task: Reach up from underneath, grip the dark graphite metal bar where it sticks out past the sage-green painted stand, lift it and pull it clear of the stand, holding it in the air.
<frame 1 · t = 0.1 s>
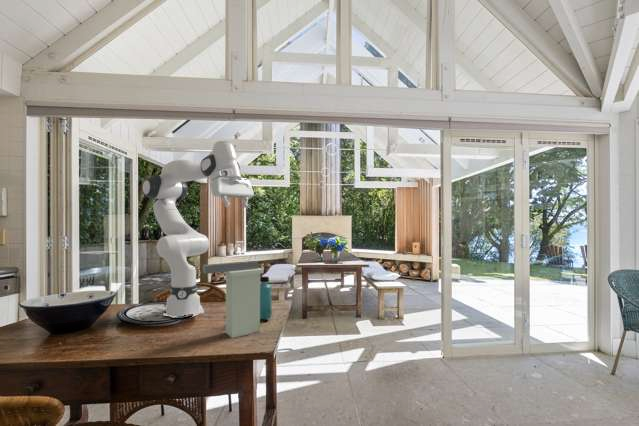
hand: (237, 206, 136), 52 cm above the table, tool tilted 20°, fingers open, 8 cm apart
sage stand: (242, 332, 134), on the table
graphite bar: (231, 270, 131), point 26 cm above the table, touching sage stand
beverage bottle: (264, 320, 150), on the table
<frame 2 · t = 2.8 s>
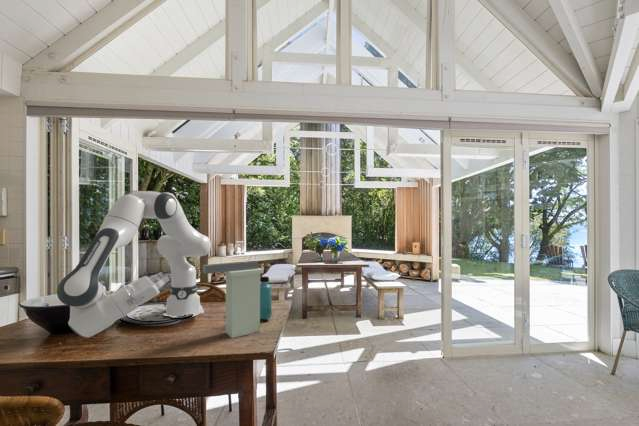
hand: (165, 275, 117), 26 cm above the table, tool pointing upward, fingers open, 8 cm apart
nothing on the table moved.
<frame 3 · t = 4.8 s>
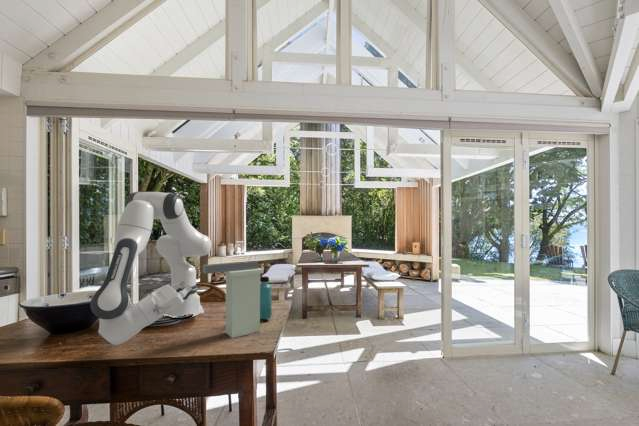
hand: (187, 284, 122), 22 cm above the table, tool pointing upward, fingers open, 8 cm apart
nothing on the table moved.
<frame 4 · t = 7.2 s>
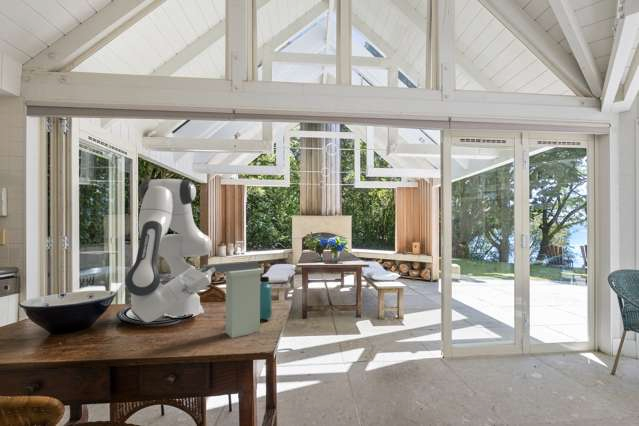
hand: (212, 267, 127), 28 cm above the table, tool pointing upward, fingers closed on graphite bar, 3 cm apart
graphite bar: (231, 270, 131), point 26 cm above the table, touching gripper, sage stand
everything else where it was.
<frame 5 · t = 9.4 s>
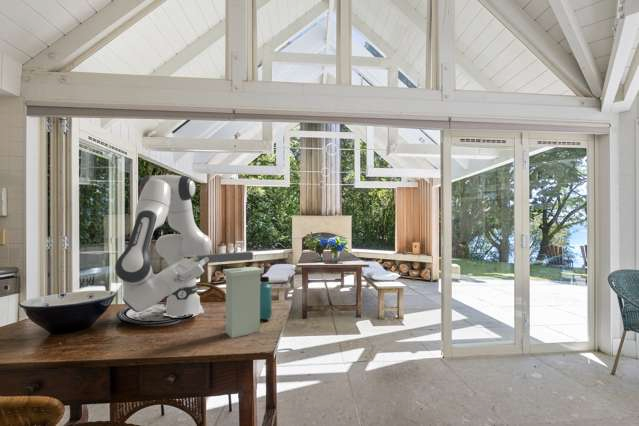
hand: (206, 257, 125), 32 cm above the table, tool pointing upward, fingers closed on graphite bar, 3 cm apart
graphite bar: (225, 261, 130), point 30 cm above the table, touching gripper
everything else where it was.
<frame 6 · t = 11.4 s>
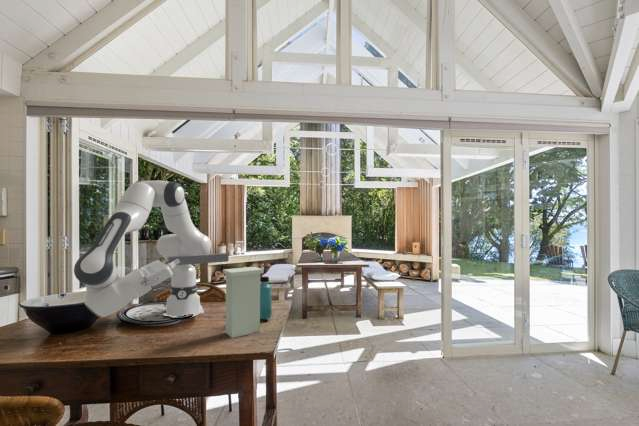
hand: (177, 259, 119), 32 cm above the table, tool pointing upward, fingers closed on graphite bar, 3 cm apart
graphite bar: (198, 263, 124), point 30 cm above the table, touching gripper
everything else where it was.
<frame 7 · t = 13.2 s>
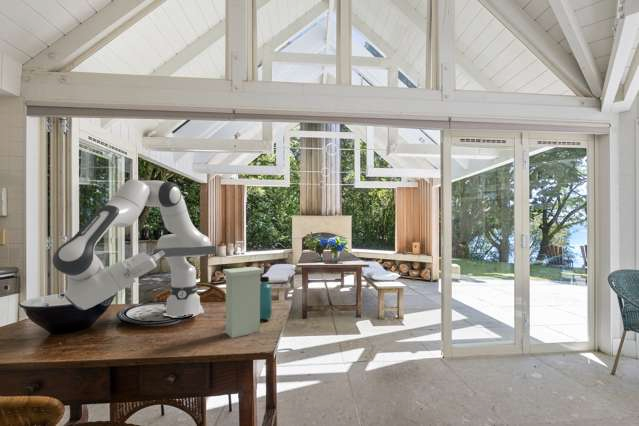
hand: (162, 251, 116), 35 cm above the table, tool pointing upward, fingers closed on graphite bar, 3 cm apart
graphite bar: (185, 255, 121), point 33 cm above the table, touching gripper
everything else where it was.
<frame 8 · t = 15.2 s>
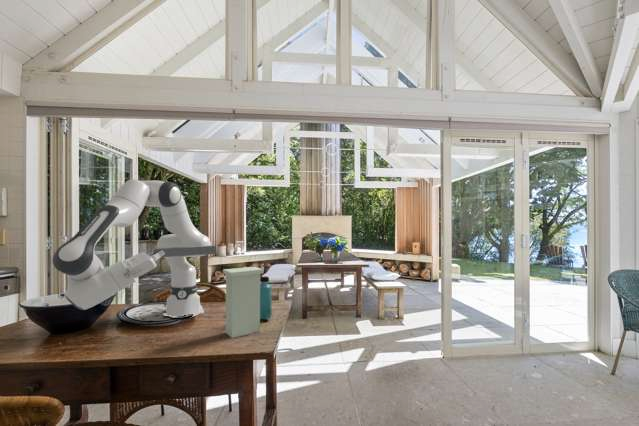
hand: (162, 251, 116), 35 cm above the table, tool pointing upward, fingers closed on graphite bar, 3 cm apart
graphite bar: (185, 255, 121), point 33 cm above the table, touching gripper
everything else where it was.
at the end: the gripper is holding graphite bar; graphite bar inside the target area (0.4 cm from its centre), point 33.4 cm above the table; graphite bar touching gripper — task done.
